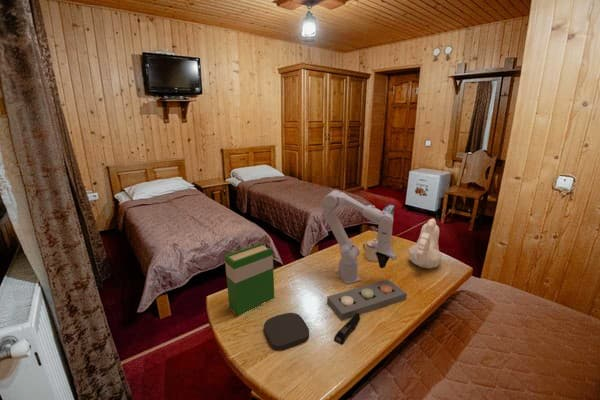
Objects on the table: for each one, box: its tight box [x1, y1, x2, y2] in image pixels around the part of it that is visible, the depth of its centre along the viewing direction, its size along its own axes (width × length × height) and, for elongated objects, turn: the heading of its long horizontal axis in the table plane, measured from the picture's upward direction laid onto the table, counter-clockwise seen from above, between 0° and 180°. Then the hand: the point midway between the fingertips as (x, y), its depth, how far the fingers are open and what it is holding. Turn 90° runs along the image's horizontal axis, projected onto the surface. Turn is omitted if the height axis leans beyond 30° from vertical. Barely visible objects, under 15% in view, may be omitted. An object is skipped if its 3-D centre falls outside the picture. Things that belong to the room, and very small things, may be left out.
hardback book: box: [224, 242, 275, 317], centre depth 117 cm, size 18×7×24 cm, turn 130°
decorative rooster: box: [407, 218, 442, 270], centre depth 145 cm, size 25×16×25 cm, turn 133°
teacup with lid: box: [362, 238, 379, 263], centre depth 157 cm, size 12×9×12 cm
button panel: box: [326, 278, 408, 321], centre depth 121 cm, size 12×32×3 cm, turn 114°
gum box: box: [376, 204, 395, 240], centre depth 170 cm, size 20×5×23 cm, turn 151°
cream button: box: [341, 296, 353, 307], centre depth 117 cm, size 5×5×2 cm
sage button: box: [361, 288, 374, 300], centre depth 120 cm, size 5×5×2 cm
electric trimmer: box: [333, 313, 361, 345], centre depth 105 cm, size 4×16×3 cm, turn 142°
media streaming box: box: [263, 312, 310, 351], centre depth 104 cm, size 15×15×3 cm
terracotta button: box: [380, 285, 392, 294], centre depth 124 cm, size 5×5×2 cm
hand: (382, 267), depth 130 cm, fingers closed
